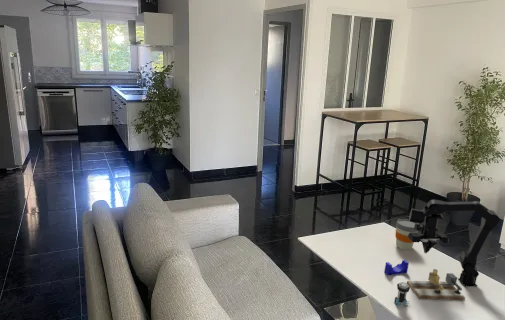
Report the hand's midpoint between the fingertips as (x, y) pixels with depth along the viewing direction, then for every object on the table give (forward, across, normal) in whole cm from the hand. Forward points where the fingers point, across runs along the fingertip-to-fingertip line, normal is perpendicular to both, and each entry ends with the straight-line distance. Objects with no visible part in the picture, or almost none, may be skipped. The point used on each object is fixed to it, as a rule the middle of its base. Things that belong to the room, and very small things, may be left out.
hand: (425, 252), depth 197 cm
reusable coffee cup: (+12, -4, -30) cm, 33 cm away
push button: (+12, +22, +26) cm, 36 cm away
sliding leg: (+10, +1, +16) cm, 18 cm away
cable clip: (+12, +14, -1) cm, 19 cm away
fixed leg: (+10, -8, +16) cm, 20 cm away
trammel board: (+12, +1, +16) cm, 20 cm away
